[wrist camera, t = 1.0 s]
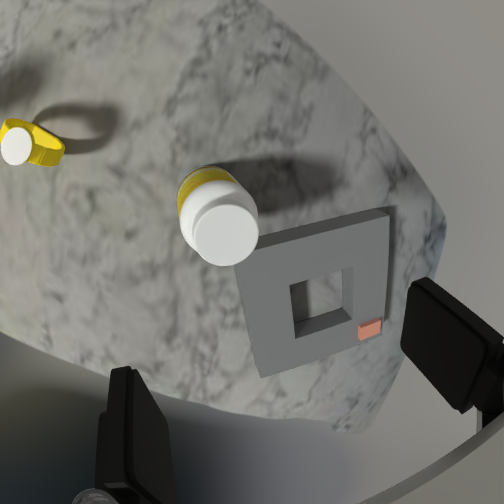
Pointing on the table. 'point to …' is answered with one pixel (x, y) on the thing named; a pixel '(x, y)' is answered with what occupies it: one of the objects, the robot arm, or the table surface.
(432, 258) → the table surface
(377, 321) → the block with square hole
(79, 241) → the table surface
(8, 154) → the watch
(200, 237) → the supplement bottle
